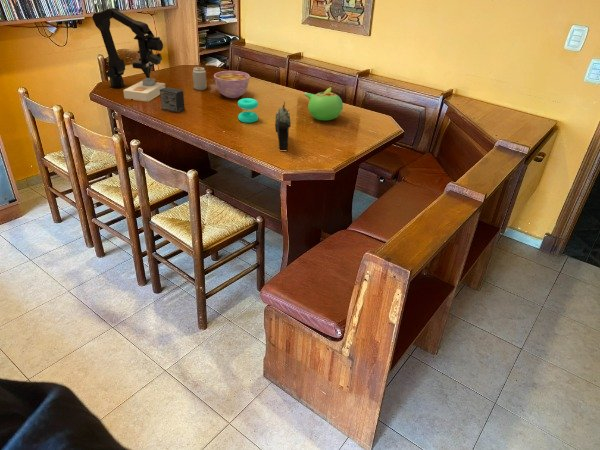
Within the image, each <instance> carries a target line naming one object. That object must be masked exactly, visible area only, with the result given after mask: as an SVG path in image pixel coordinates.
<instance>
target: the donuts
mask: <svg viewBox="0 0 600 450" xmlns="http://www.w3.org/2000/svg"><path fill="white" fill-rule="evenodd" d="M237 105H238V107H239V108H240V109H243V110H246V111H242V112H240V113H238V116H237V118H238V120H239V121H240V122H242V123H247V124H250V123H255V122H257V121H258V120H259V115H258V114H257V113H256V112H254V111H251V110H254V109H256V108H258V105H259V102H258V100H257V99H254V98H252V97H251V98H250V97H249V98H248V97H246V98H245V97H244V98H241V99H239V100H238V101H237ZM248 110H249V111H248Z"/></svg>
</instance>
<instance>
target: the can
mask: <svg viewBox="0 0 600 450" xmlns="http://www.w3.org/2000/svg"><path fill="white" fill-rule="evenodd" d="M192 80H193V81H192V82H193V89H194V90H196V91H204V90H206V89H207V88H208V87H207V71H206V70H205V67H202V66H197V67H196V66H195V67H193V70H192Z"/></svg>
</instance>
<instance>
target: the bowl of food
mask: <svg viewBox="0 0 600 450" xmlns="http://www.w3.org/2000/svg"><path fill="white" fill-rule="evenodd" d="M250 76H251V75H250V74H249V73H247V72H244V71H239V70H224V71H217V72H215V73H214V74H213V78H214V81H215V86H216V89H217V91H218V92H219V93H220V94H221V95H222V96H224V97H226V98H229V99H237V98H240V97H241V96H243V95H244V94H246V92H247V90H248V85H249V81H250Z"/></svg>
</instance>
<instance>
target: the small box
mask: <svg viewBox="0 0 600 450" xmlns="http://www.w3.org/2000/svg"><path fill="white" fill-rule="evenodd" d="M159 96H160V104H161V105H160V106H161V110H163V111H167V112H171V113H176V114H178V113H181V112H183V111H185V110H186V109H185V100H184V99H185V97H184V96H185V95H184V90H183V89H179V88H174V87H168V86H167V87H166V86H165V88H163V89H160V95H159Z"/></svg>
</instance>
